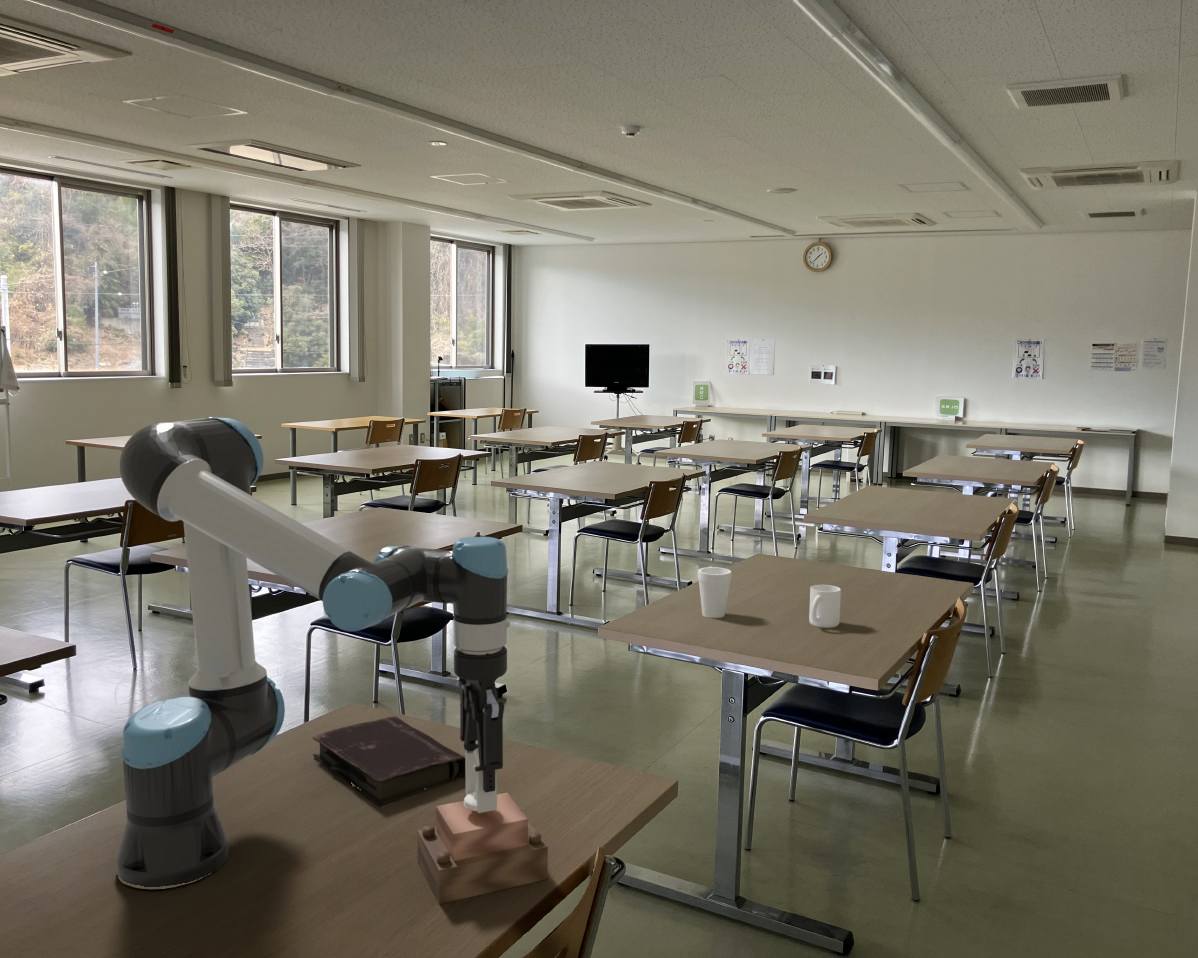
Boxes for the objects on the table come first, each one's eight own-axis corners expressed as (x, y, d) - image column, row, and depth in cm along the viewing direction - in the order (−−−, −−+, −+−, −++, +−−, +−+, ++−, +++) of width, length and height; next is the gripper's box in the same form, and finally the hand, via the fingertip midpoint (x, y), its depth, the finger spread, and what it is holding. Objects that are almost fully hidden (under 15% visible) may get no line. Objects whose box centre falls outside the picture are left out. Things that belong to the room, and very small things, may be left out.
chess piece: (481, 792, 143) (481, 727, 142) (504, 802, 140) (504, 736, 139) (456, 803, 139) (456, 738, 138) (480, 814, 136) (480, 747, 135)
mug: (825, 633, 261) (827, 596, 260) (797, 627, 266) (799, 591, 265) (844, 623, 270) (845, 587, 269) (816, 618, 275) (818, 583, 274)
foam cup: (695, 618, 274) (697, 573, 272) (698, 609, 283) (699, 566, 281) (729, 620, 272) (730, 575, 270) (730, 611, 281) (731, 568, 279)
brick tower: (439, 904, 132) (438, 842, 131) (417, 861, 143) (416, 804, 142) (547, 878, 139) (547, 820, 138) (519, 839, 150) (519, 785, 149)
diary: (398, 737, 191) (398, 712, 190) (468, 780, 172) (468, 753, 171) (308, 761, 178) (308, 735, 178) (373, 810, 160) (373, 781, 159)
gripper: (527, 662, 130) (526, 824, 133) (486, 626, 146) (486, 772, 149) (474, 669, 127) (474, 835, 130) (437, 632, 143) (439, 780, 146)
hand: (480, 801), depth 140 cm, fingers closed on chess piece, 5 cm apart
